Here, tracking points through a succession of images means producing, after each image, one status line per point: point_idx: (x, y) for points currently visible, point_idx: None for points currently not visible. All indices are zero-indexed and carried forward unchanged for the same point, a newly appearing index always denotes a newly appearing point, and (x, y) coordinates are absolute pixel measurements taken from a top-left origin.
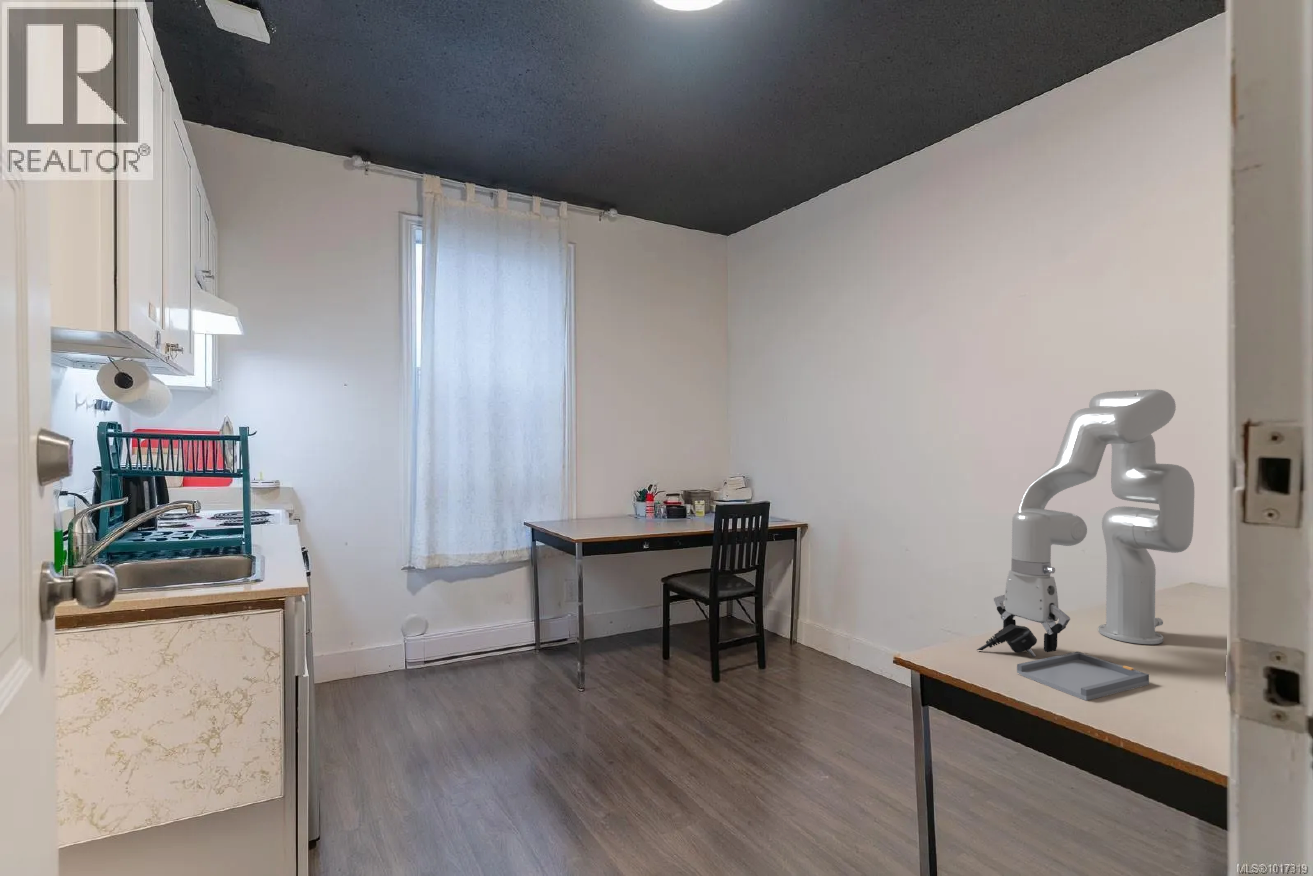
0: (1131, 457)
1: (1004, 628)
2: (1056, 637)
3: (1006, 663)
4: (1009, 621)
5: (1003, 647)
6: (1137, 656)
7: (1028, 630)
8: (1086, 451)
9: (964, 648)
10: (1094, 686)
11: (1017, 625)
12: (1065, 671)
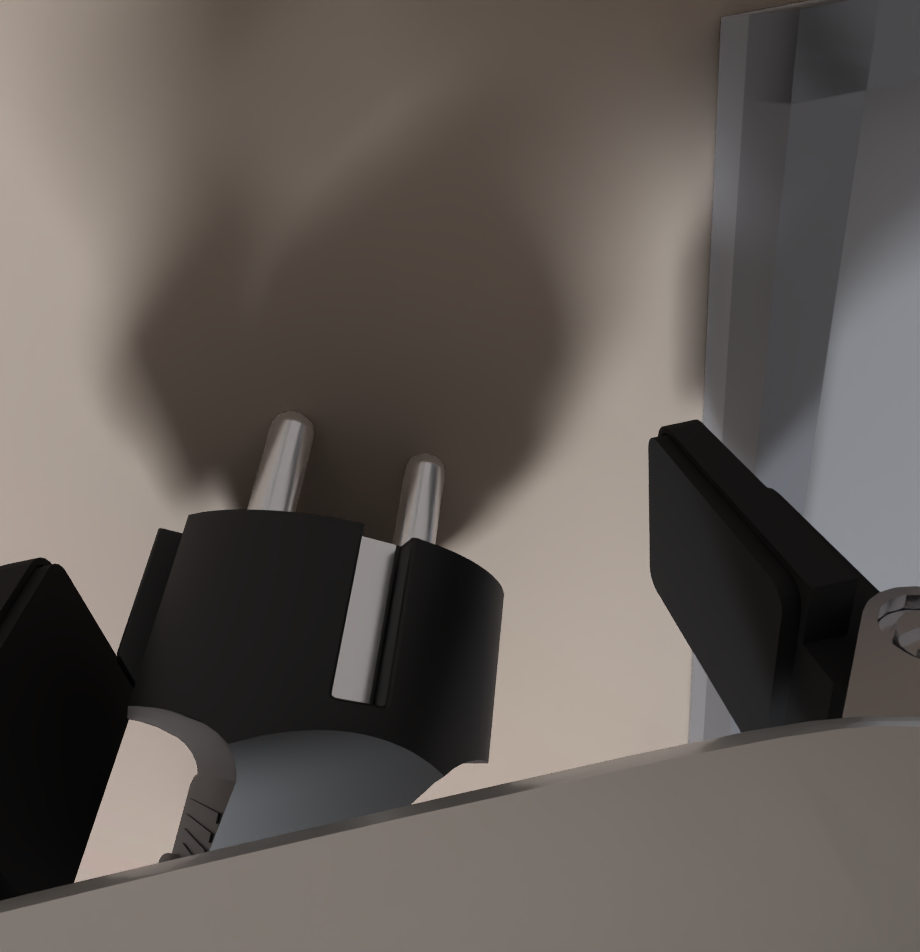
0: None
1: None
2: (860, 594)
3: (506, 755)
4: (12, 895)
5: (89, 575)
6: None
7: (439, 773)
8: None
9: (125, 854)
10: None
11: (214, 840)
12: (908, 554)
